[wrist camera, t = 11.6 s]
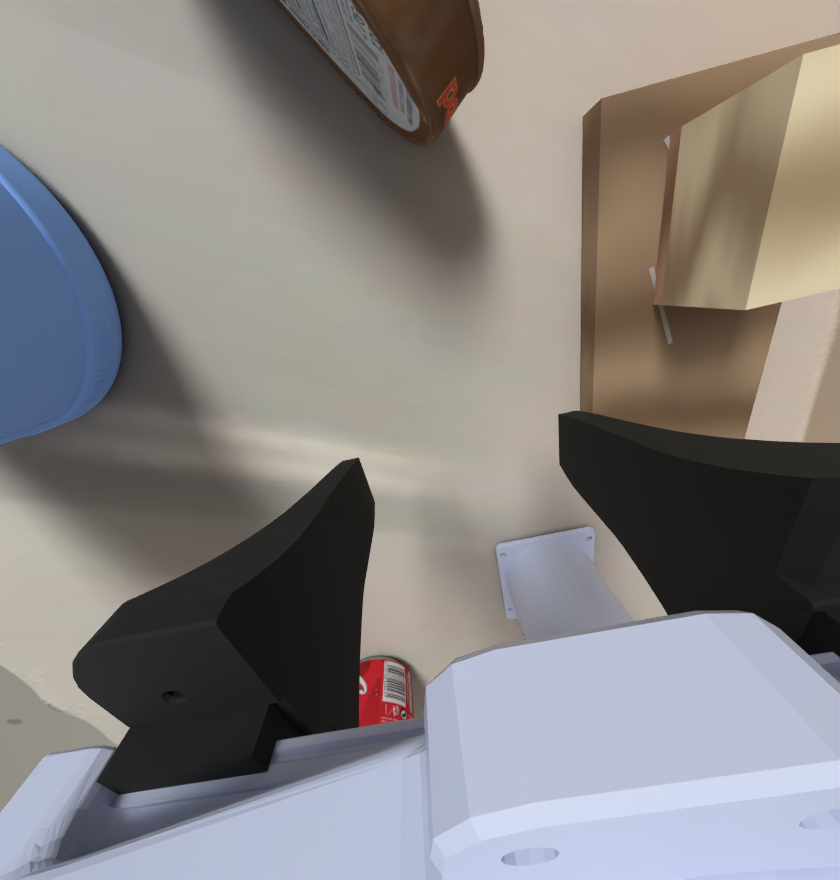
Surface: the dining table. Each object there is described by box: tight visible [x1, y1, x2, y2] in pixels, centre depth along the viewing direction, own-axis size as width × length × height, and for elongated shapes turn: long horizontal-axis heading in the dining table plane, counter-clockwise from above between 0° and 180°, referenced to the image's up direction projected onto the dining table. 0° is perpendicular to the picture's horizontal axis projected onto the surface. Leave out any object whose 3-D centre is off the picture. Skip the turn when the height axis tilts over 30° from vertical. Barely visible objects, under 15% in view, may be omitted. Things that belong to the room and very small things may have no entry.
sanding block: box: [653, 44, 840, 310], centre depth 13 cm, size 7×4×5 cm, turn 13°
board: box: [580, 33, 840, 439], centre depth 18 cm, size 20×10×2 cm, turn 13°
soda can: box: [359, 656, 414, 727], centre depth 28 cm, size 7×7×12 cm
